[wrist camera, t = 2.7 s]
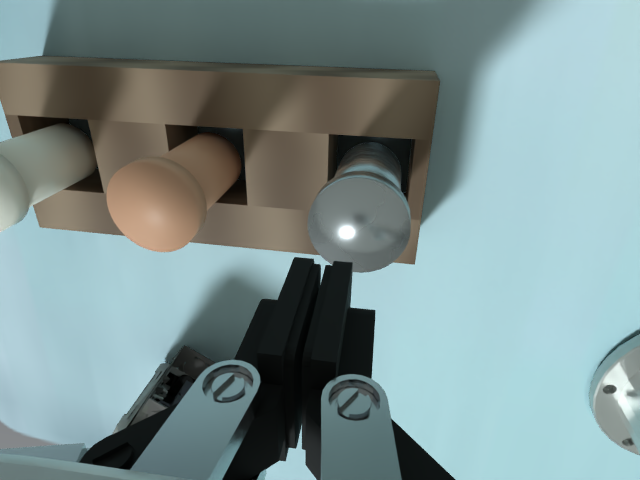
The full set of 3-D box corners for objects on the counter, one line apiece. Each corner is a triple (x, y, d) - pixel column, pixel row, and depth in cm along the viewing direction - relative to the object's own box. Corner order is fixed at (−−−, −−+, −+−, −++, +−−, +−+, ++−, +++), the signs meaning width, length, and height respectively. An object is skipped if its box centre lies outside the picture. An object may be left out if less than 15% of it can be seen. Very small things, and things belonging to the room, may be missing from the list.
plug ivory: (95, 118, 25) (-4, 152, 19) (110, 186, 27) (24, 237, 21) (29, 114, 26) (-87, 146, 20) (49, 181, 28) (-52, 230, 22)
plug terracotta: (245, 127, 24) (191, 166, 18) (249, 198, 26) (202, 256, 20) (173, 122, 24) (96, 159, 18) (183, 193, 26) (116, 247, 20)
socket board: (434, 71, 24) (440, 81, 20) (413, 233, 29) (414, 264, 25) (41, 55, 27) (-12, 62, 24) (79, 203, 32) (39, 227, 28)
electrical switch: (159, 365, 39) (99, 453, 30) (183, 325, 37) (126, 407, 28) (251, 416, 40) (218, 514, 31) (279, 379, 38) (252, 474, 29)
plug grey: (413, 137, 23) (416, 183, 17) (404, 211, 25) (404, 277, 18) (332, 132, 23) (307, 175, 17) (330, 205, 25) (307, 267, 19)
